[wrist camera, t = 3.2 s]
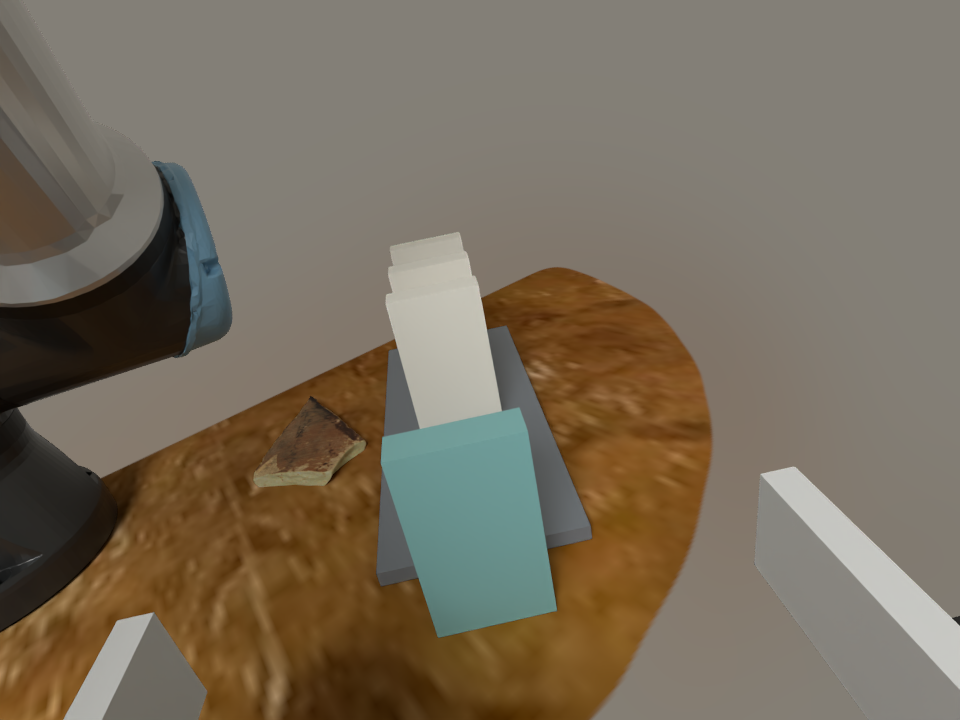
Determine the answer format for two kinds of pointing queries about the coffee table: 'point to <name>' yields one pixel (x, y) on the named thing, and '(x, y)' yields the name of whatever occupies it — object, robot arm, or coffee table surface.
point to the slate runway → (552, 477)
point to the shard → (309, 449)
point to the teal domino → (472, 520)
